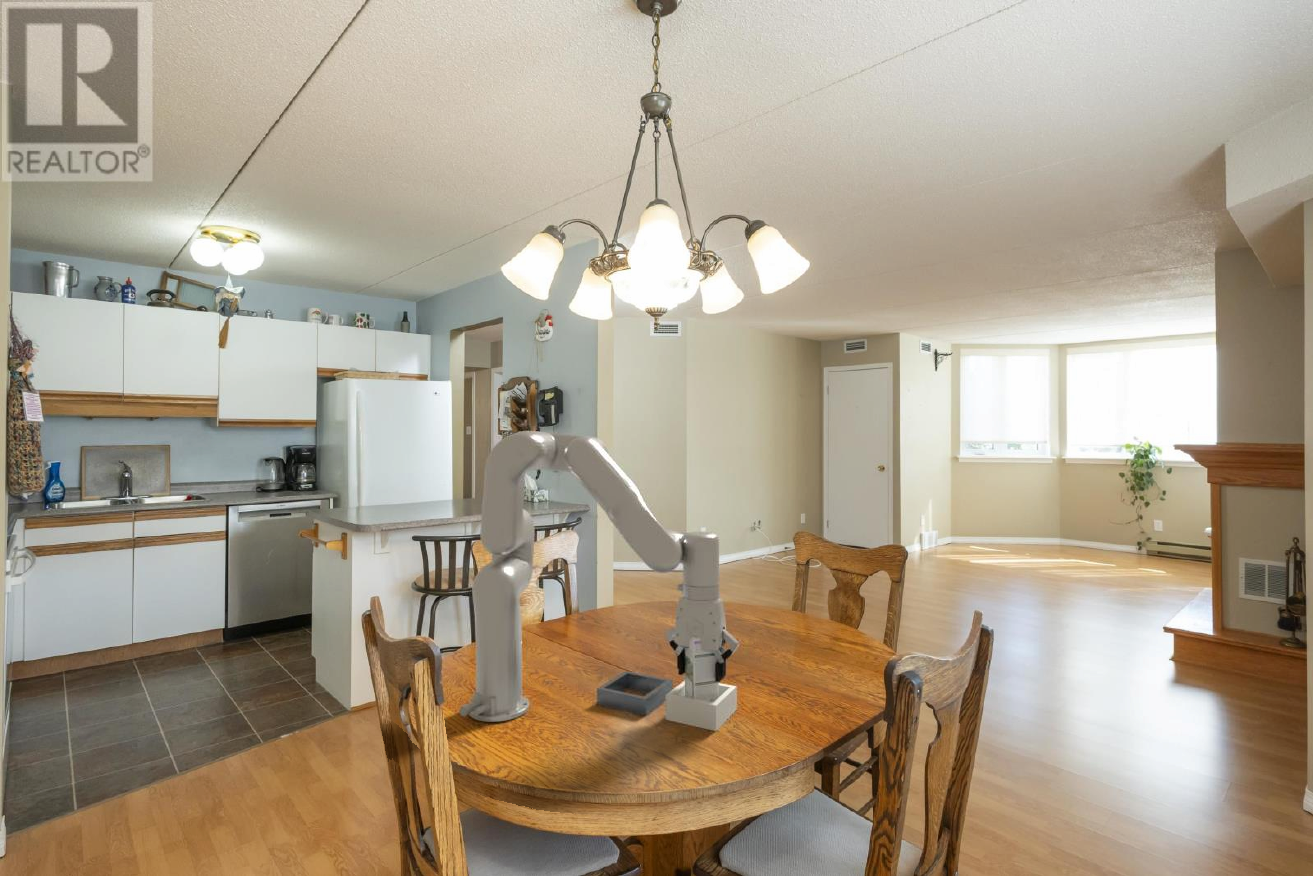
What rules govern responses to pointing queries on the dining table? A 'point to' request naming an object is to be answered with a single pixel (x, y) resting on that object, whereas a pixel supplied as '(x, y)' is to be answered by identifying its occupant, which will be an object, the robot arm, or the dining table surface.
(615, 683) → the gray square frame
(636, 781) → the dining table surface
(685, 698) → the cradle
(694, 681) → the syrup box
